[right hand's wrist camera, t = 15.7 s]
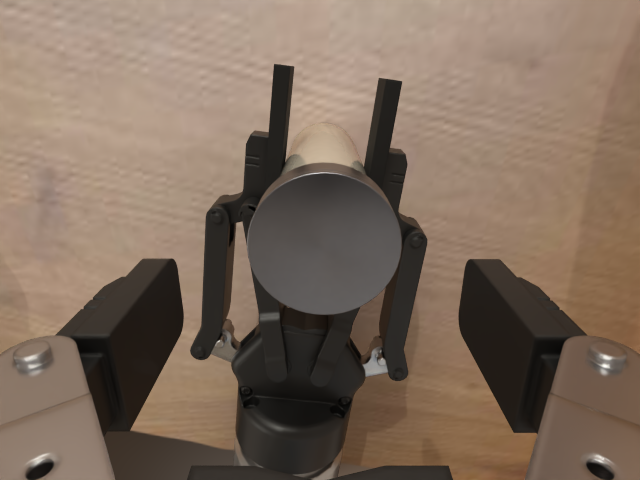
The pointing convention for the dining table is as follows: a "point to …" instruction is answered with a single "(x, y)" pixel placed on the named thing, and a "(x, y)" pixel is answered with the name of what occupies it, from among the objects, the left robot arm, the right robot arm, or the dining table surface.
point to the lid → (324, 239)
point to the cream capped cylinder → (323, 148)
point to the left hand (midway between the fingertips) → (337, 73)
